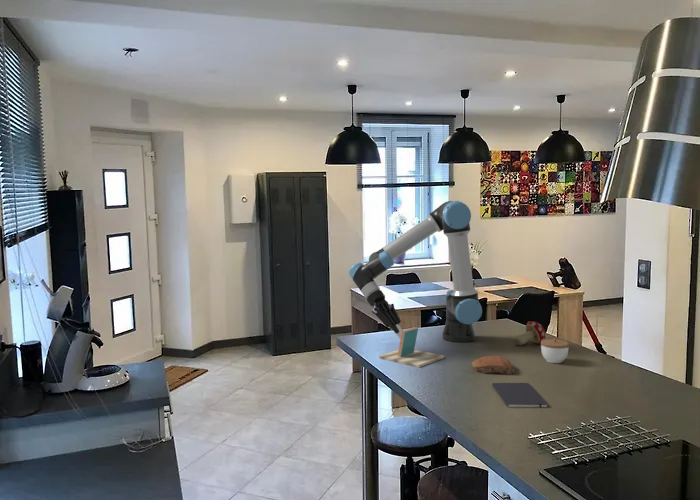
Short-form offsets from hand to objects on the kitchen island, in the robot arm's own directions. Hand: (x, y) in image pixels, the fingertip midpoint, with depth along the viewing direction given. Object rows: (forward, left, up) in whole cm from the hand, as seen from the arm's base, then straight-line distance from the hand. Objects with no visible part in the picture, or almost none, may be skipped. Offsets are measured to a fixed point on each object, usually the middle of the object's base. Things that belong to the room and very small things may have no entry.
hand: (404, 338), depth 244 cm
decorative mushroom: (-53, -33, -8) cm, 62 cm away
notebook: (-43, +40, -8) cm, 60 cm away
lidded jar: (-60, -6, -8) cm, 61 cm away
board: (-3, +1, -8) cm, 9 cm away
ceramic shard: (-35, +10, -8) cm, 37 cm away
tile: (-2, +1, -1) cm, 2 cm away
